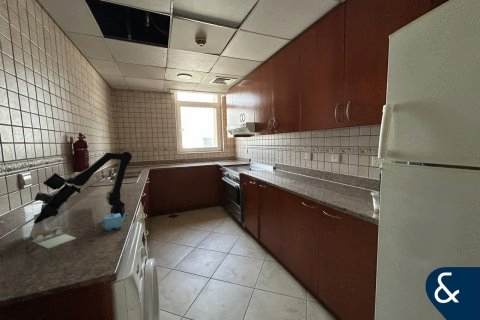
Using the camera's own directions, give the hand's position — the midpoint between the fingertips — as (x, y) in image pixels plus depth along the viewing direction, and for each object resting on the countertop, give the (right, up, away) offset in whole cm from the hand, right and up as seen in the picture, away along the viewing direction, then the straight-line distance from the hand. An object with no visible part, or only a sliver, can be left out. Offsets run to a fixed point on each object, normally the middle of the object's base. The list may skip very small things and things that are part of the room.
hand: (34, 222), depth 97 cm
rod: (+9, -4, -3) cm, 10 cm away
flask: (+1, -7, +1) cm, 7 cm away
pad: (+16, -7, -6) cm, 19 cm away
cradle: (+9, -7, -2) cm, 11 cm away
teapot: (+34, -5, +8) cm, 35 cm away
